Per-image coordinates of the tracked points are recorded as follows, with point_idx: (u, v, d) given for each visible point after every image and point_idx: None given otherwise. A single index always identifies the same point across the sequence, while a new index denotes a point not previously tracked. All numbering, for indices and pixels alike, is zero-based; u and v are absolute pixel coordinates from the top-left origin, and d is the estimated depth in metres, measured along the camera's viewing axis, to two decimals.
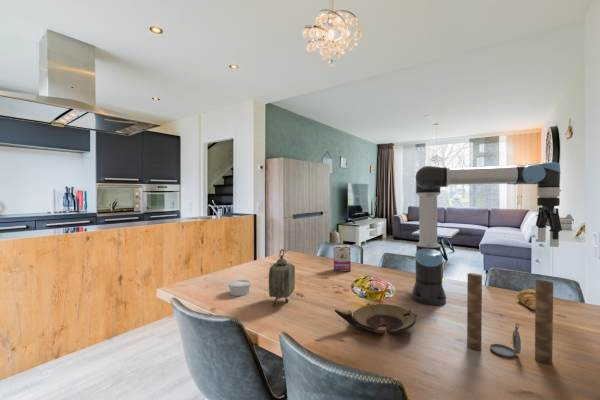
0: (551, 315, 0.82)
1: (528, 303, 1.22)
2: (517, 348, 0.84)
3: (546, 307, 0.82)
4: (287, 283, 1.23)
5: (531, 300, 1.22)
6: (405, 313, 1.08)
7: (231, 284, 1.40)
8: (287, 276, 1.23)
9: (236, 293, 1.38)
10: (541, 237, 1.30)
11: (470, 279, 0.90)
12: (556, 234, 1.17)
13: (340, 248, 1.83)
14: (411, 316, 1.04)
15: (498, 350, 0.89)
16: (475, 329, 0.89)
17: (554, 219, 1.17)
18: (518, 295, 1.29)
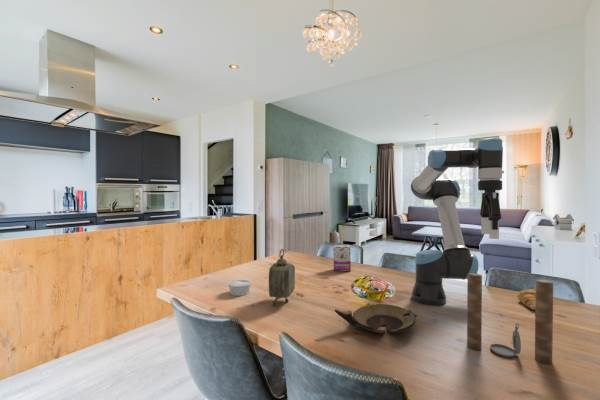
0: (551, 315, 0.82)
1: (528, 303, 1.22)
2: (517, 348, 0.84)
3: (546, 306, 0.82)
4: (287, 283, 1.23)
5: (531, 300, 1.22)
6: (405, 313, 1.08)
7: (231, 284, 1.40)
8: (287, 276, 1.23)
9: (236, 293, 1.38)
10: (485, 228, 1.10)
11: (470, 279, 0.90)
12: (495, 223, 0.97)
13: (340, 248, 1.83)
14: (411, 316, 1.04)
15: (498, 350, 0.89)
16: (475, 329, 0.89)
17: (493, 205, 0.97)
18: (518, 295, 1.29)
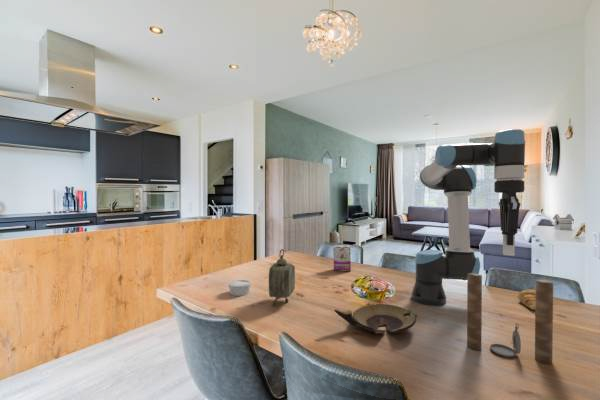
0: (551, 315, 0.82)
1: (528, 303, 1.22)
2: (517, 348, 0.84)
3: (546, 307, 0.82)
4: (287, 283, 1.23)
5: (531, 300, 1.22)
6: (405, 313, 1.08)
7: (231, 284, 1.40)
8: (287, 276, 1.23)
9: (236, 293, 1.38)
10: None
11: (470, 279, 0.90)
12: (511, 238, 0.85)
13: (340, 248, 1.83)
14: (411, 316, 1.04)
15: (498, 350, 0.89)
16: (475, 329, 0.89)
17: (511, 218, 0.83)
18: (519, 295, 1.29)
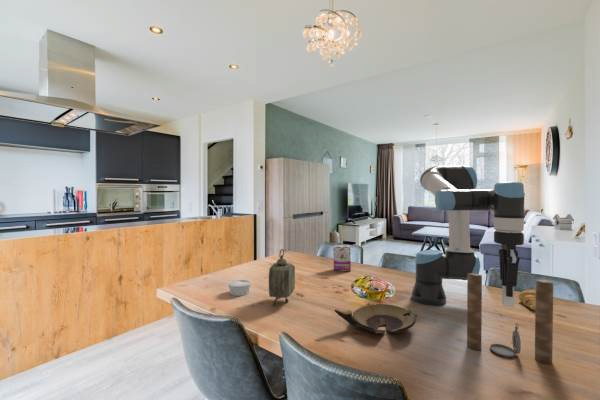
0: (551, 315, 0.82)
1: (528, 303, 1.22)
2: (517, 348, 0.84)
3: (546, 307, 0.82)
4: (287, 283, 1.23)
5: (532, 300, 1.22)
6: (405, 313, 1.08)
7: (231, 284, 1.40)
8: (287, 276, 1.23)
9: (236, 293, 1.38)
10: None
11: (470, 279, 0.90)
12: (510, 290, 0.85)
13: (340, 248, 1.83)
14: (411, 316, 1.04)
15: (498, 350, 0.89)
16: (475, 329, 0.89)
17: (510, 272, 0.83)
18: (519, 295, 1.29)
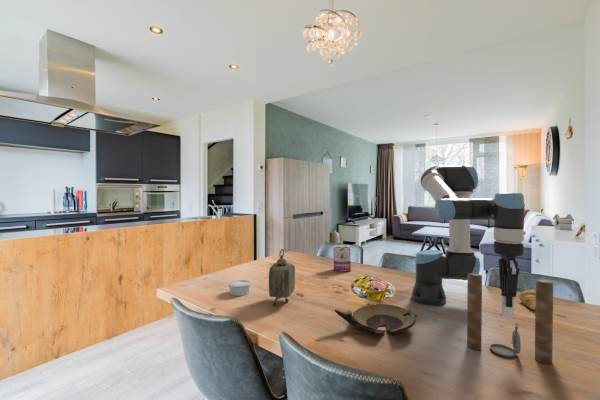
0: (551, 315, 0.82)
1: (528, 303, 1.22)
2: (517, 348, 0.84)
3: (546, 307, 0.82)
4: (287, 283, 1.23)
5: (532, 300, 1.21)
6: (405, 313, 1.08)
7: (231, 284, 1.40)
8: (287, 276, 1.23)
9: (236, 293, 1.38)
10: None
11: (470, 279, 0.90)
12: (510, 300, 0.85)
13: (340, 248, 1.83)
14: (411, 316, 1.04)
15: (498, 350, 0.89)
16: (475, 329, 0.89)
17: (510, 283, 0.83)
18: (520, 295, 1.29)
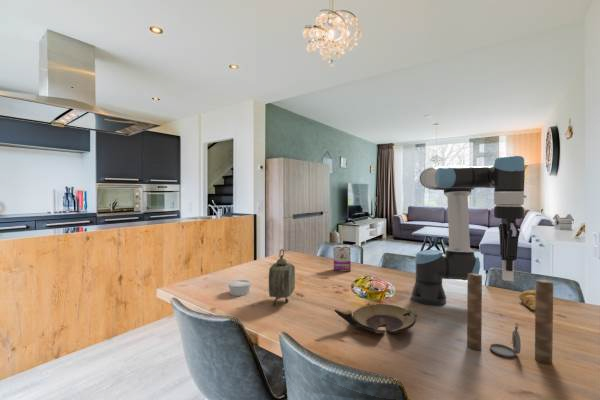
0: (551, 315, 0.82)
1: (528, 303, 1.22)
2: (517, 348, 0.84)
3: (546, 306, 0.82)
4: (287, 283, 1.23)
5: (532, 300, 1.21)
6: (405, 313, 1.08)
7: (231, 284, 1.40)
8: (287, 276, 1.23)
9: (236, 293, 1.38)
10: None
11: (470, 279, 0.90)
12: (510, 264, 0.85)
13: (340, 248, 1.83)
14: (411, 316, 1.04)
15: (498, 350, 0.89)
16: (475, 329, 0.89)
17: (510, 245, 0.83)
18: (520, 295, 1.29)
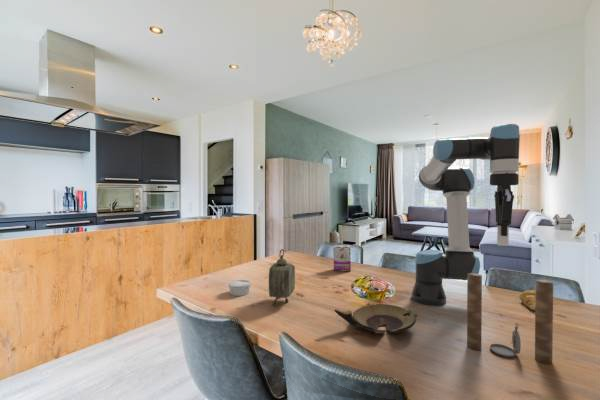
0: (551, 315, 0.82)
1: (528, 303, 1.22)
2: (517, 348, 0.84)
3: (546, 306, 0.82)
4: (287, 283, 1.23)
5: (532, 300, 1.21)
6: (405, 313, 1.08)
7: (231, 284, 1.40)
8: (287, 276, 1.23)
9: (236, 293, 1.38)
10: None
11: (470, 279, 0.90)
12: (505, 229, 0.88)
13: (340, 248, 1.83)
14: (411, 316, 1.04)
15: (498, 350, 0.89)
16: (475, 329, 0.89)
17: (505, 210, 0.86)
18: (520, 295, 1.29)
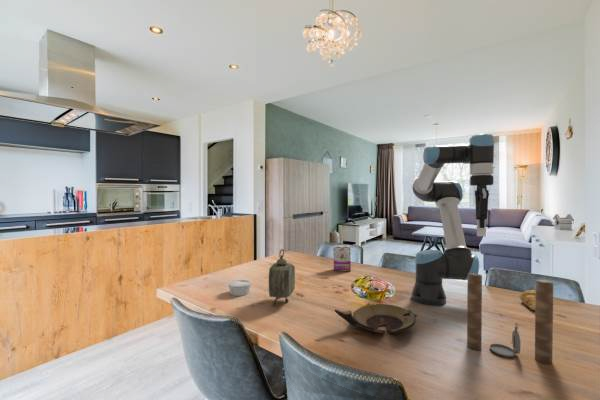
0: (551, 315, 0.82)
1: (529, 303, 1.22)
2: (517, 348, 0.84)
3: (546, 307, 0.82)
4: (287, 283, 1.23)
5: (532, 300, 1.21)
6: (405, 313, 1.08)
7: (231, 284, 1.40)
8: (287, 276, 1.23)
9: (236, 293, 1.38)
10: None
11: (470, 279, 0.90)
12: (482, 222, 1.05)
13: (340, 248, 1.83)
14: (411, 316, 1.04)
15: (498, 350, 0.89)
16: (475, 329, 0.89)
17: (482, 206, 1.03)
18: (521, 295, 1.29)
